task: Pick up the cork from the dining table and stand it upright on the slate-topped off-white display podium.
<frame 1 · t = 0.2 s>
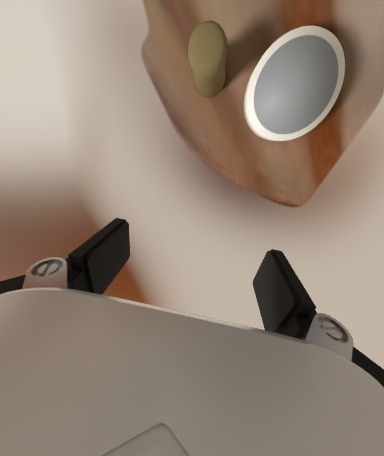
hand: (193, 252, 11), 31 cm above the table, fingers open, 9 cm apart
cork: (209, 77, 29), on the table
podium: (282, 97, 29), on the table
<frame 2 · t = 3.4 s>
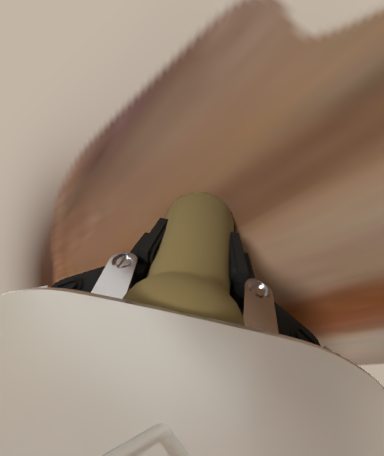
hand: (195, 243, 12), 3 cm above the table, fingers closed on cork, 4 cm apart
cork: (199, 224, 14), on the table, touching gripper
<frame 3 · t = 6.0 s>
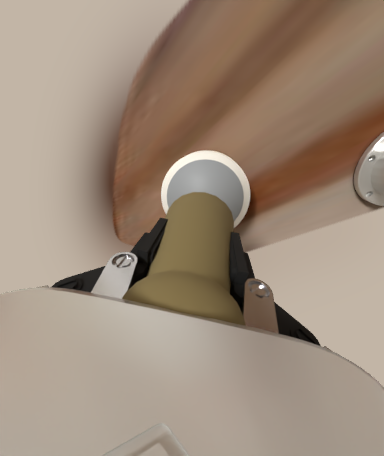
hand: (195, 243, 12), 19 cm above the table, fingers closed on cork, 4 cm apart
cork: (199, 224, 14), point 16 cm above the table, touching gripper
podium: (205, 192, 29), on the table
when the fingers open (9 cm above the table, at t = 8.5 s): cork stays where it is, resting on podium.
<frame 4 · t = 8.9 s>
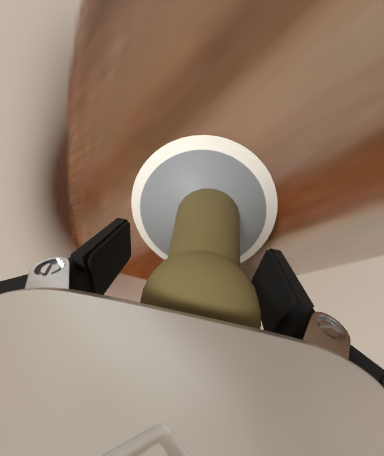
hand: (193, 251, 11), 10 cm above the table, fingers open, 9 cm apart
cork: (207, 218, 15), point 5 cm above the table, touching podium
podium: (203, 202, 20), on the table
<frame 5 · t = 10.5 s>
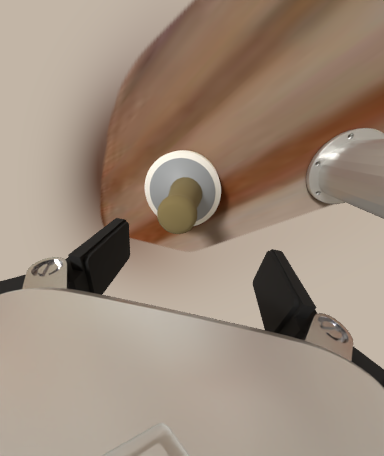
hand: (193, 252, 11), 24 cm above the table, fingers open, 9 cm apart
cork: (185, 193, 29), point 5 cm above the table, touching podium
podium: (185, 187, 33), on the table
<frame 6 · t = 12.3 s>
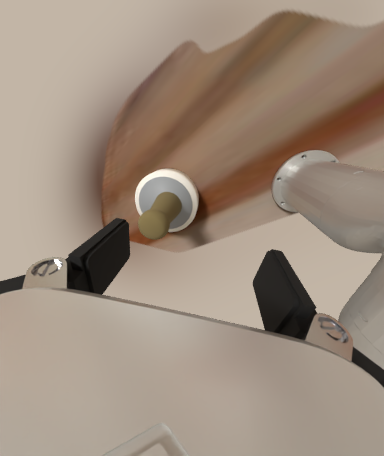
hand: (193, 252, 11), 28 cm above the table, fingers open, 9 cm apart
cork: (168, 204, 35), point 5 cm above the table, touching podium
podium: (170, 198, 39), on the table
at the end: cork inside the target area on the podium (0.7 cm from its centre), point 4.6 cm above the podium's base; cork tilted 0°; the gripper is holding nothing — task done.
